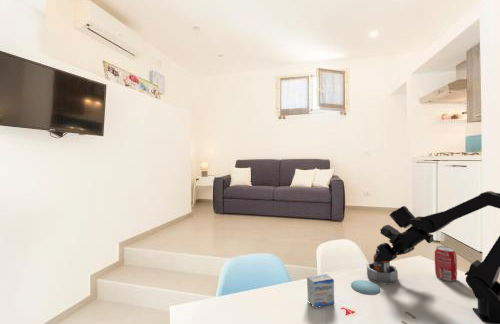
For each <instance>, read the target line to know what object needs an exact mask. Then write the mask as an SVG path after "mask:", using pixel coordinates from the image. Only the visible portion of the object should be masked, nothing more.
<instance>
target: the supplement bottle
mask: <svg viewBox="0 0 500 324" xmlns="http://www.w3.org/2000/svg"><path fill="white" fill-rule="evenodd" d="M378 254H379V250H378V249H377V248H375V253H374V254H373V262H374V270H375V271H377V272H385V273H390V265H391V264H390V263H391V261H390V262H388V261H386V262H376V261H375V258H376V257H377V255H378Z"/></svg>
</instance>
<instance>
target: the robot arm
mask: <svg viewBox="0 0 500 324" xmlns="http://www.w3.org/2000/svg"><path fill="white" fill-rule="evenodd" d="M488 206H489V207H494V208H497V209H499V210H500V193H499V192H495V191H491V190H488V191H484V192H481V193H480V194H477V196H474V197H472V198H470V199H468V200H466V201H463V202H462V203H459V204H458V205H455V206H453V207H451V208H448V209H447V210H443V211H440V212H439V211H438V212H435V213H431V214H428V215H424V216H420V215H418V216H415V215H414V214H413V213H412V212H411V211H410V210H409V209H408V207H407V206H405V205H403V206H401V207H399V208H397V209H396V210H393V211H392V212H391V213H389V217H390V218H391V219H392V220H393V221H394V222H395V224H396V225H397V226H398V227H399V228H400V229H402V228H403V229H406V230H404V231H403V232H400V231H399V230H398V229H396V228H395V227H393V226H391V224H386V225H383V226H382V227H381V228H380V230H379V231H380V234H381V235H382V236H383V237H385V238H387V239H388V242H389V243H390V244H391V245H390V244H389V243H388V242H383V243H380V244H379V245H377V246H376V249H378V250H379V254H378V255H377V257H376V258H375V261H376V262H386V261H388V262H390V263H391V261H394V260H395V259H396V258H397V257H398V256H401V255H406V254H408V253H411V252H412V251H414V250H415V247H416V246H418V245H419V244H420V243H421V242H423V241H426V242H427V244H431V243H433V242H434V234H433V233H436V232H438V231H440V230H441V231H442V230H443V229H444V228H446V227H447V226H448V225H450V224H451V223H453V222H454V221H456V220H458V219H461V218H462V217H464V216H467V215H469V214H472V213H474V212H477V211H479V210H481V209H484V208H487V207H488ZM407 228H408V229H407ZM464 275H465V276H466V277H465V282H466V284H467V286H468V287H469V288H470V289H471V290H472V292H473V295H474V298H475V299H477V300H476V301H477V307H472V310H473V312H474V313H475V315H476V316H478V318H479V319H480V320H481V321H482V322H484V323H491V324H500V282H499V281H498V279H499V276H500V235H499V236H498V237H497V239H496V241H495V242H494V244H493V246H492V247H491V249H490V250H489V251H488V253H487V254H486V256H485V258H484V259H483V261H481V260H479V259H476V260H475V261H473V262H471V264H470V266H469V269H468V271H466V272H465V273H464Z"/></svg>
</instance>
